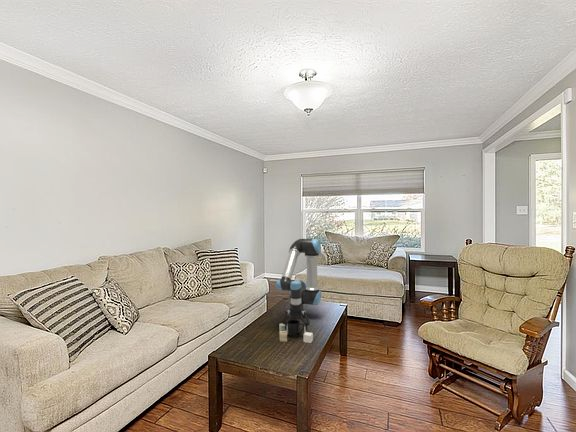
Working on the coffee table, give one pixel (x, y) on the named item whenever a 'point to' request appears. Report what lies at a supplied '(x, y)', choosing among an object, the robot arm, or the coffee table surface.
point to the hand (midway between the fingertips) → (296, 334)
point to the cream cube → (308, 337)
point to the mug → (294, 327)
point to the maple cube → (283, 336)
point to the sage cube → (282, 327)
